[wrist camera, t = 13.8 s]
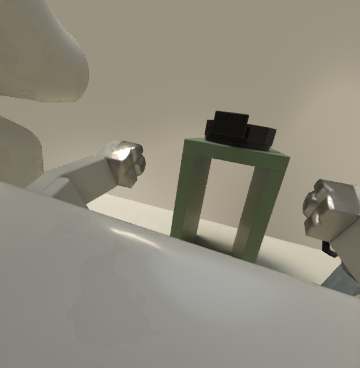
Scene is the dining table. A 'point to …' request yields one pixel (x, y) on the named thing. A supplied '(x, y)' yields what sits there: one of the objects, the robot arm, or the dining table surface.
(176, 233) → the green hollow pedestal
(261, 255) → the dining table surface
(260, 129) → the pan
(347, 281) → the grey bowl
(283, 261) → the dining table surface
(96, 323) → the robot arm
